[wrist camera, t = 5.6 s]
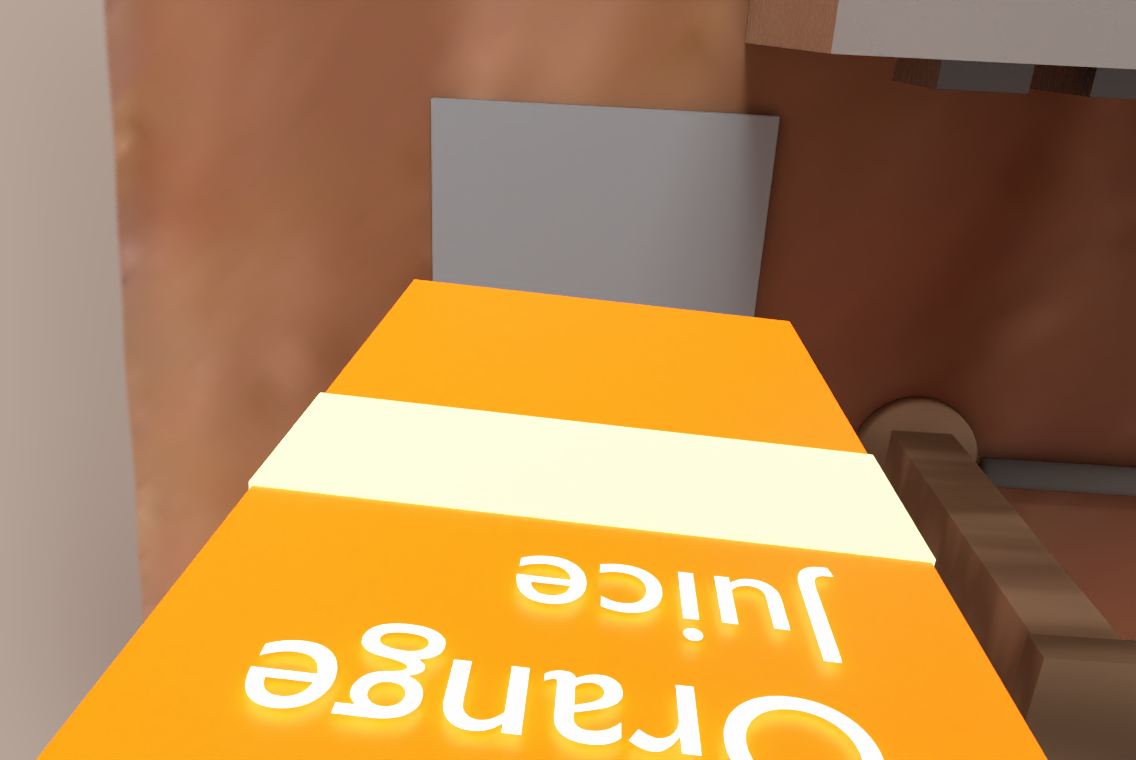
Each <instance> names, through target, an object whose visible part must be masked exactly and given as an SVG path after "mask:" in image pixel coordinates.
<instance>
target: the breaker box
mask: <svg viewBox="0 0 1136 760" xmlns="http://www.w3.org/2000/svg"><path fill="white" fill-rule="evenodd" d="M745 43H750V44H758V45H766V46H774V47H782V48H789V49H797V50H805V51H813V52H821V53H829V54H845V55H864V56H884V57H897V60H896V66H895V72H894V77H893V81H898V82H904V83H909V84H914V85H919V86H924V87H929V88H934V89H947V90H967V91H986V92H1005V93H1024V94H1028V93H1029V89H1030V88H1033V89H1040V90H1047V91H1054V92H1060V93H1067V94H1074V95H1080V96H1087V97H1101V98H1121V99H1136V0H750V4H749V13H748V22H747V31H746V40H745Z"/></svg>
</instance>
